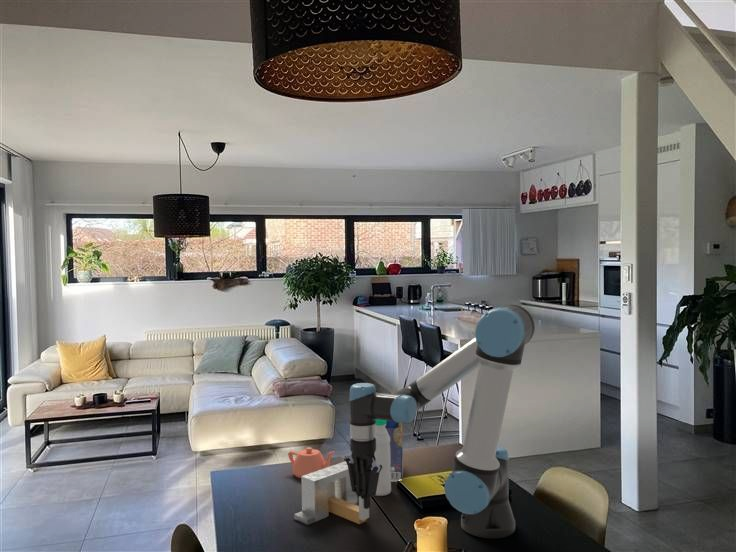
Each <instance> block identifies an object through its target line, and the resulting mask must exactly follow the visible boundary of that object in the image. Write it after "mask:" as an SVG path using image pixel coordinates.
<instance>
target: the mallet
mask: <svg viewBox="0 0 736 552" xmlns="http://www.w3.org/2000/svg"><path fill="white" fill-rule="evenodd" d="M328 511H329V513H331V514H334V515H336V516H338V517H341V518H344V519H346V520H348V521H351V522H353V523H355V524H358V525H361V524H363V523H365V522H367V519H365V520H360V519H359V506H358V504H356V505H355V504H352V503H349V502H347V501H344V500H342V499H339V498H336V497H335V481H332V482H329V483H328Z"/></svg>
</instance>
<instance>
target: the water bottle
mask: <svg viewBox="0 0 736 552" xmlns="http://www.w3.org/2000/svg"><path fill="white" fill-rule="evenodd" d="M386 423H387V421H386V420H379V419H376V436H375V438H376V451H375V453H374V455H375V458H376V463H377V464H378V465H382V469H381V471H380V474H379V479H378V485H377V490H376V495H375V496H376V497H384V496H388V495H389V494H391V492H392V486H391V485H392V482H390V480H391V472H390V464H391V455H390V436H389V434H388V432H387V430H386V428H385V426H386Z"/></svg>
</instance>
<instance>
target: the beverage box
mask: <svg viewBox="0 0 736 552" xmlns="http://www.w3.org/2000/svg"><path fill="white" fill-rule="evenodd" d="M385 428H386V430H387V432H388V434H389V436H390V455H391V464H390V472H391V480H390V482H391V483H393V482H394V483H398V482H397V481H398V480H399V479H402V480H403V478H402V477H404V476H403V475H404V450H403V449H404V441H403V440H404V437H403V434H404V431H403V423H398V422H393V421H387V423H386V426H385Z"/></svg>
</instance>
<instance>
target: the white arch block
mask: <svg viewBox="0 0 736 552" xmlns="http://www.w3.org/2000/svg"><path fill="white" fill-rule="evenodd" d="M300 480H301V481H300V482H301V511H299V512H297V513H294V514H293V519H294V520H295V521H296V522H297V521H298V522H299V523H302V524H304V525H307V526H309V525H311V524H313V523H316V522H318V521H320V520H322V519H325V518H327V517H330V515H329V513H330V512H329V511H328V483H329V482H332V481H335V497H336V498H339V499H342V500H344V501H347V502H349V503H352V504H355V505H358V497H357V494H356V492H353V491H352V487H351V482H350V476H349V470H348V465H347V463H346V461H342V462H339V463H336V464H333V465H329V467H327V468H324V469H321V470H318V471H315V472H312V473H310V474H307V475H304V476H301V479H300ZM355 487H356V486H355Z"/></svg>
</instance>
